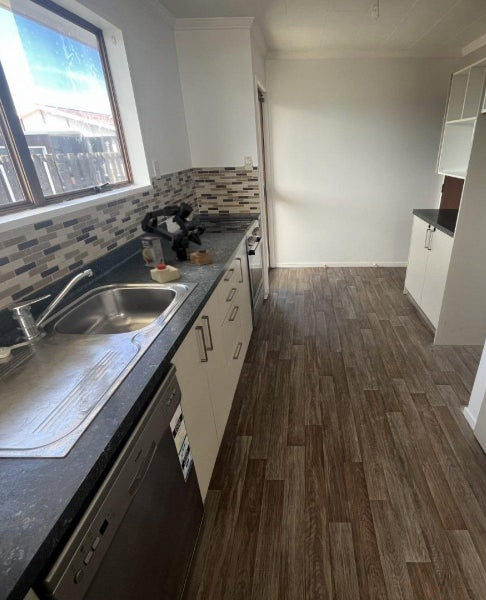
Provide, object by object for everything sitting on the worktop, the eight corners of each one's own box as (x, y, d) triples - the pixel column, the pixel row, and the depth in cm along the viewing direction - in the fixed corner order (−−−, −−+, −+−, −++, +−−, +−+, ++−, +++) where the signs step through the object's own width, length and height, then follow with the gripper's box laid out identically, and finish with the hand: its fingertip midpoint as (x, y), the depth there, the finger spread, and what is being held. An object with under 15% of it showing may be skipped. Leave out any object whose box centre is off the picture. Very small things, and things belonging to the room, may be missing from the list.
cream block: (151, 279, 167) (148, 267, 164) (170, 273, 174) (168, 261, 171) (161, 284, 161) (158, 271, 158) (180, 278, 168) (178, 266, 165)
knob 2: (197, 252, 185) (197, 249, 185) (203, 250, 188) (203, 248, 187) (201, 253, 183) (201, 250, 182) (207, 252, 186) (207, 249, 185)
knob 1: (156, 269, 163) (155, 265, 162) (163, 267, 165) (163, 263, 164) (160, 271, 160) (159, 267, 159) (167, 268, 163) (167, 264, 162)
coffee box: (144, 266, 185) (138, 238, 178) (153, 262, 191) (147, 235, 184) (156, 268, 182) (150, 239, 175) (165, 264, 187) (159, 236, 181)
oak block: (191, 262, 190) (189, 250, 187) (203, 259, 196) (201, 247, 193) (201, 266, 184) (199, 254, 181) (213, 263, 189) (212, 251, 186)
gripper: (176, 217, 172) (194, 240, 172) (201, 211, 186) (218, 232, 186) (168, 230, 178) (186, 252, 178) (193, 223, 193) (210, 244, 193)
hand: (201, 244), depth 184 cm, fingers closed
